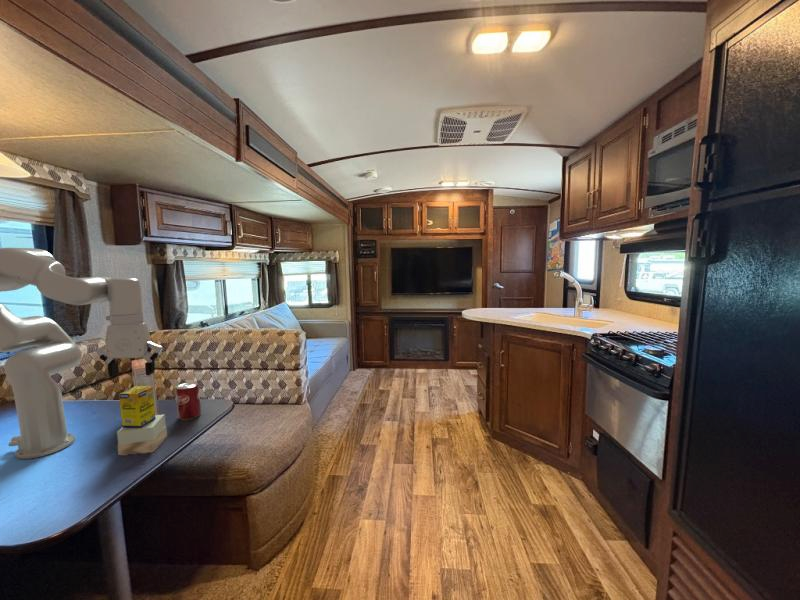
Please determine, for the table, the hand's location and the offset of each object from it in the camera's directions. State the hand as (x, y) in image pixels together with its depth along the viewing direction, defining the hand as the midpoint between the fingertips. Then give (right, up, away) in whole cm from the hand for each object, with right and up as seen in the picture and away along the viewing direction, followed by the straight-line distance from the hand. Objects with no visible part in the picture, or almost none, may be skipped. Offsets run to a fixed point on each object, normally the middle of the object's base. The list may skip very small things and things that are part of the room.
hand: (132, 374), depth 99 cm
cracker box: (-12, -21, +22) cm, 33 cm away
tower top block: (+1, -19, +3) cm, 20 cm away
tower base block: (+1, -23, +3) cm, 24 cm away
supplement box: (+1, -16, +2) cm, 16 cm away
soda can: (+3, -21, +22) cm, 31 cm away
